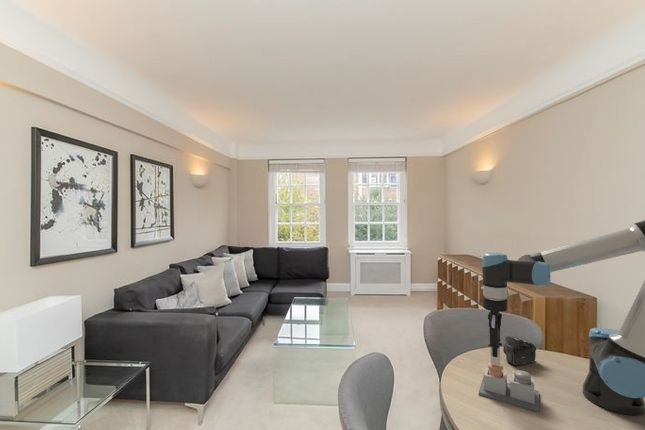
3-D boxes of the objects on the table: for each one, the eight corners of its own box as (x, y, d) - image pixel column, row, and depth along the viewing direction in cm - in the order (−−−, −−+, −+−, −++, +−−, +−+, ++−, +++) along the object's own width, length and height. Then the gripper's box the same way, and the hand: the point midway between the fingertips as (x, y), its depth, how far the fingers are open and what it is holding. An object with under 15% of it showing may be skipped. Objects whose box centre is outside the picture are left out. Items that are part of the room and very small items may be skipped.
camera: (511, 352, 138) (511, 329, 138) (537, 360, 130) (537, 336, 130) (498, 361, 130) (498, 337, 129) (525, 371, 122) (525, 346, 122)
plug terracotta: (503, 382, 110) (503, 364, 110) (502, 388, 106) (502, 370, 106) (488, 378, 113) (488, 360, 113) (486, 384, 109) (486, 366, 109)
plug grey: (531, 391, 105) (531, 372, 105) (531, 398, 101) (530, 379, 101) (514, 386, 108) (514, 368, 108) (513, 393, 104) (513, 375, 104)
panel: (538, 393, 107) (538, 375, 107) (538, 412, 97) (538, 393, 97) (483, 378, 117) (483, 362, 117) (478, 394, 107) (478, 377, 107)
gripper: (485, 291, 116) (485, 354, 117) (480, 300, 106) (480, 369, 106) (508, 294, 112) (509, 359, 112) (505, 304, 101) (506, 376, 102)
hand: (495, 364), depth 109 cm, fingers closed
